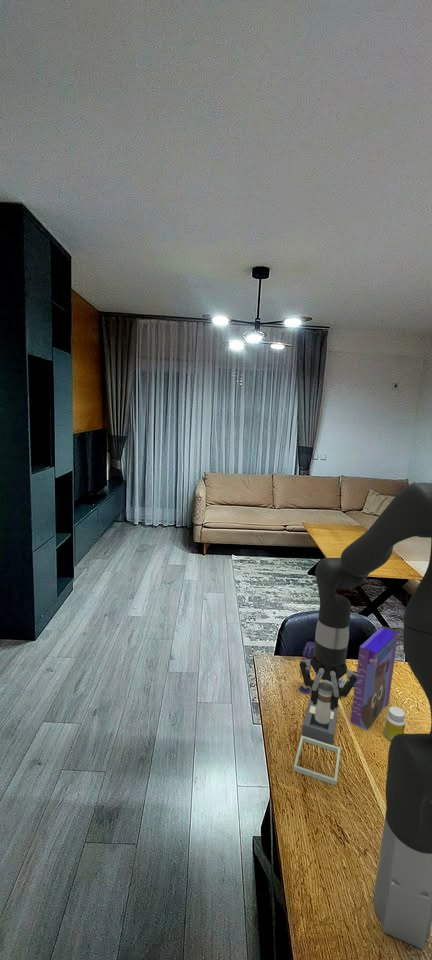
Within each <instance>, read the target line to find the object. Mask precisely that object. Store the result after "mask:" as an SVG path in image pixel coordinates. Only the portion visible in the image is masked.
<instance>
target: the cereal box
mask: <svg viewBox="0 0 432 960" xmlns="http://www.w3.org/2000/svg"><path fill="white" fill-rule="evenodd" d="M398 638H399V631H398V630H396V629H394V628H391V627H389V626H384V625H382V626H380V628H378V629H377V630H376V631H375V632H374V633H373V634H372V635H371V636H370V637H369V638H367V640H365V641H364V642H363V643H362V644H360V645H359V650H358V659H357V660H358V661H357V665H356V666H357V668H356V672H357V681H356V682H355V686H354V691H353V699H352V706H351V715H350V723H351V724H353V725H356V726H357V727H359V728H361V729H363V730H365V731H369V729H370V728H371V726H372V725H373V724H374V722H375V721H376V720H377V719H378V716H379V715H380V714H381V713H382V711H383V710H384V708H385V707H388V706H389V702H390V697H391V689H392V681H393V675H394V674H393V673H394V668H395V667H394V666H395V659H396V654H397V653H396V652H397V646H398V645H397V644H398Z"/></svg>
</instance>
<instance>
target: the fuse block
mask: <svg viewBox="0 0 432 960" xmlns="http://www.w3.org/2000/svg"><path fill="white" fill-rule="evenodd" d="M315 709H316V705H314V704H313V702H312V701H311V697H309V699H308V703H307V708H306V711H305V715H304V719H303V724H302V730H301V731H302V732H301V735H302V736H305V737H308V738H311V739H314V740H317V741H320V742H323V743H327V744H330V745H333V744H334V738H335V731H336V726H337V725H336V722H337V717H338V711H339V710H338V709H339V706H337V708H334V710H331V715H330V722H329V723H327V724H322V723H319V722H318V721H316V719H315ZM333 746H334V745H333Z"/></svg>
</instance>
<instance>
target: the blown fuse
mask: <svg viewBox="0 0 432 960" xmlns="http://www.w3.org/2000/svg"><path fill="white" fill-rule="evenodd" d="M332 696H333V688H332V685H331V684H330V683H327V682H324V681H320V683H319V685H318V691H317V701H316V709H315V719H316V721H318V722H319V723H322V724H327V723H329V722H330V715H331V705H332Z"/></svg>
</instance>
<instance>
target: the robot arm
mask: <svg viewBox="0 0 432 960" xmlns="http://www.w3.org/2000/svg"><path fill="white" fill-rule="evenodd" d="M415 537H419V538H427V539H428V538H429V539H430V538H431V543H430V553H429V560H428V561H429V562H428V565H427V568H426V570H425V573H424V575H423V577H421V579H420V582H419V583H418V585H417V587H416V588H415V589H414V592H413V593H412V595H411V597H410V599H409V601H408V603H407V605H406V607H405V610H404V616H403V637H402V638H403V642H402V643H403V644H402V645H403V647H402V648H403V654H404V657H405V660H406V662H407V664H408V666H409V667H410V669H411V672H412V673H413V675H414V677H415V679H416V680H417V682H418V683H419V685H420V687H421V689H422V690H423V692H424V694H425V696H426V698H427V701H428V704H429V709H430V718H431V719H430V721H431V723H430V724H431V725H430V731H429V733H404V734H398V735H396V736H394V738H393V739H392V741H390V744H389V748H388V753H387V768H386V769H387V770H386V780H385V802H386V803H385V804H386V805H385V806H386V808H385V809H386V810H385V815H384V823H383V831H382V837H381V844H380V850H379V851H380V852H379V857H378V858H379V859H378V865H377V869H376V870H377V872H376V878H375V885H374V893H373V906H374V909H375V912H376V915H377V917H378V919H379V921H380V922H381V925H382V931H383V933H384V934H387V935H389V936H392V937H393V938H395V939H398V940H400V941H402V942H405V943H407V944H409V945H412V946H413V947H416V948H418V949H420V950H424V948H425V942H426V940H427V939H428V938H429V936H430V934H431V929H432V482H413V483H410V484H408V485H406V486H405V487H403V488H402V489H401V490H400V491H399V492H398V493H396V494H395V496H394V497H393V498H392V499H391V501H390V502H389V504H388V505H387V506H386V508H385V509H384V510H383V511H381V513H380V515H378V517H377V519H376V520H375V521H374V522H372V525H371V526H370V527H369V528H368V529H367V530H366V531H365V532H364V533H363V534H362V535H360V536H359V537H358V538H356V539H355V540H354V541H353V542H352V543H350V544H349V545H347V546H346V547H345V549H344V550H342V552H341V554H340V557H324V558H322V559H320V560H319V561H318V563H317V565H316V568H315V579H316V584H317V589H318V597H319V609H318V618H317V623H316V627H315V636H314V642H313V643H314V652H313V656H312V658H311V659H306V658H304V657H301V659H300V661H299V668H300V673H301V676H302V679H303V680H304V682H303V683H304V684H305V686H308V687H309V688H310V689H311V693H310V698H311V701H312V702H313V704H314V705H316V701H317V691H318V685H319V683H320V682H322V681H323V680H328V681H329V682H332V688H333V696H332V705H331V710H334V708H337V706H338V705H339V699H340V697H344V698H346V697H348V696H349V694H350V692H351V690H352V689H353V688H354V687H355V686H354V684H355V682H356V681H357V670H356V671H355V670H353V671H352V670H351V669H349V668H348V665H347V664H346V663H347V662H346V661H347V655H348V649H349V647H348V646H349V640H350V621H351V612H352V603H351V601H350V600H349V599H348V598H347V597H345V596H343V595H342V594H338V593H336V590H338V589H339V590H340V589H352V588H353V589H354V588H356V587H358V586H361V585H362V584H364V582H365V580H366V579H367V578H368V576H369V575H370V574H371V573H373V572H374V571H376V570H378V569H379V568H381V567H382V566H384V565H385V564H386V563H387V562H388V561H389V559H390V558H391V556H392V554H393V550H394V546H395V545H396V544H399V543H400V542H403V541H405V540H408V539H410V538H415ZM310 665H311V669H313V671H314V673H315V676H314V679H312V677H311V673H309V670H308V669H309V667H310ZM345 675H346V679H345V681H346V683H345V685H344V686H343V687H342V688H340V686H339V679H340V678H341V677H343V676H345ZM338 707H339V706H338Z"/></svg>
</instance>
